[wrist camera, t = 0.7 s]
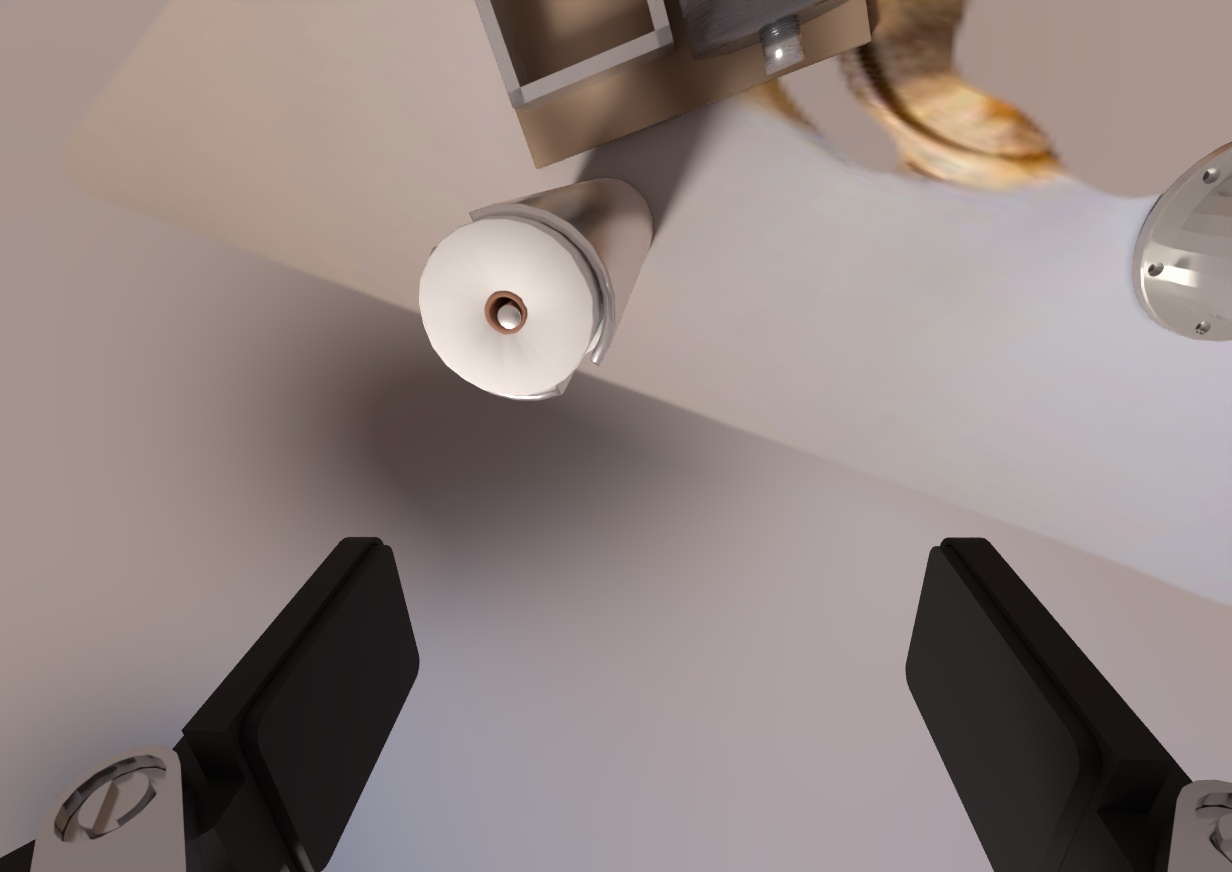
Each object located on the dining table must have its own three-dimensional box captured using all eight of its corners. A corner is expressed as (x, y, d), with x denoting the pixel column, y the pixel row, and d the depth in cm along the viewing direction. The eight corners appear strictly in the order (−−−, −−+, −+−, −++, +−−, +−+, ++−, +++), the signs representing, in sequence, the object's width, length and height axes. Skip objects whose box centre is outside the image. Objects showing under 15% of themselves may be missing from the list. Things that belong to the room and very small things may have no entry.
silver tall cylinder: (570, 282, 43) (441, 423, 20) (551, 186, 40) (379, 225, 18) (659, 269, 42) (628, 401, 19) (646, 169, 39) (591, 187, 17)
